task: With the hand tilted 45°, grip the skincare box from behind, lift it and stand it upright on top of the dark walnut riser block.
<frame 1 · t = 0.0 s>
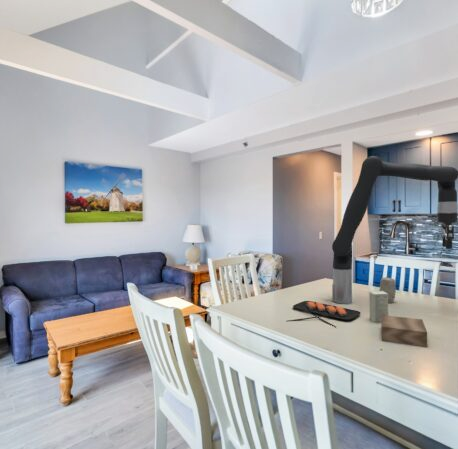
hand: (447, 247, 143), 29 cm above the table, tool pointing down, fingers open, 8 cm apart
carving: (387, 302, 161), on the table
walnut riser: (402, 336, 117), on the table
skincare box: (378, 321, 134), on the table
sushi plate: (317, 317, 141), on the table
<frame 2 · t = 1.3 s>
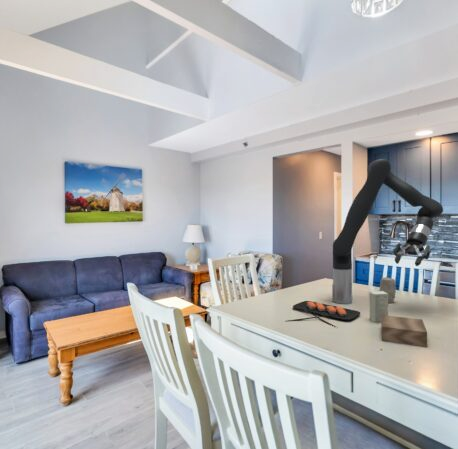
hand: (406, 263, 140), 23 cm above the table, tool tilted 45°, fingers open, 8 cm apart
nothing on the table moved.
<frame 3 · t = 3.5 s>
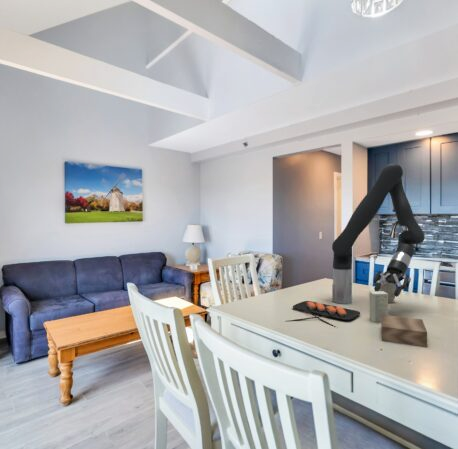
hand: (385, 293, 137), 11 cm above the table, tool tilted 45°, fingers open, 8 cm apart
nothing on the table moved.
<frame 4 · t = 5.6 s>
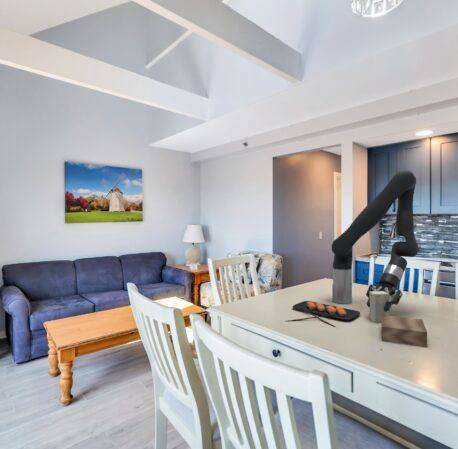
hand: (376, 308, 133), 5 cm above the table, tool tilted 45°, fingers closed on skincare box, 7 cm apart
skincare box: (378, 320, 134), on the table, touching gripper
everything else where it was.
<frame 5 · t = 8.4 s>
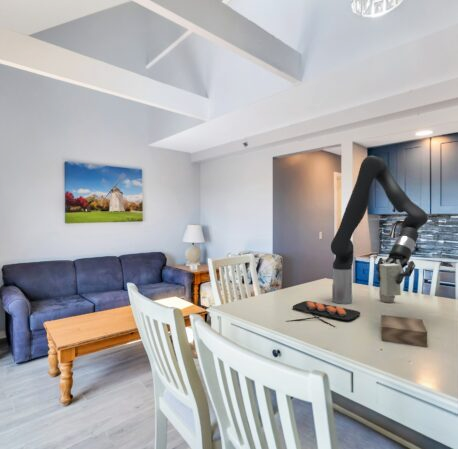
hand: (388, 281, 125), 19 cm above the table, tool tilted 45°, fingers closed on skincare box, 7 cm apart
skincare box: (390, 294, 126), point 13 cm above the table, touching gripper
everything else where it was.
when the fingers open (12 cm above the table, at t = 11.3 s): skincare box drops 1 cm, resting on walnut riser.
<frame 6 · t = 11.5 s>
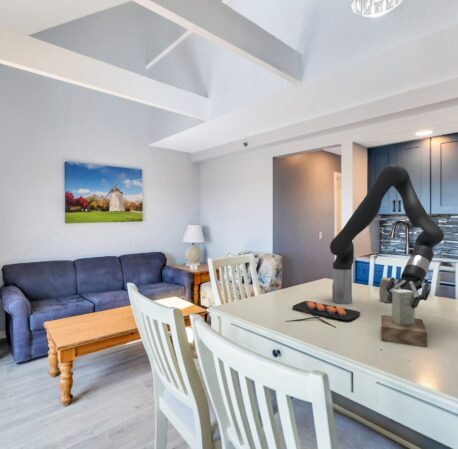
hand: (400, 304, 116), 12 cm above the table, tool tilted 45°, fingers open, 8 cm apart
skincare box: (403, 323, 117), point 5 cm above the table, touching walnut riser
everything else where it was.
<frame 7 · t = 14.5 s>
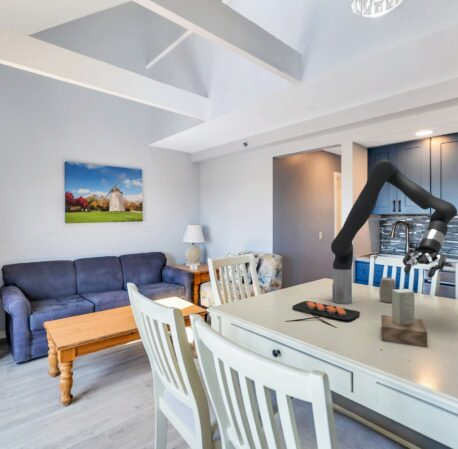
hand: (417, 274, 123), 22 cm above the table, tool tilted 45°, fingers open, 8 cm apart
nothing on the table moved.
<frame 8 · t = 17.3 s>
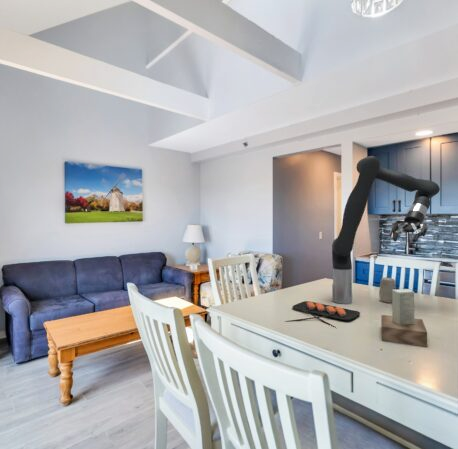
hand: (403, 241, 144), 33 cm above the table, tool tilted 45°, fingers open, 8 cm apart
nothing on the table moved.
at the end: skincare box inside the target area on the walnut riser (0.2 cm from its centre), point 4.8 cm above the walnut riser's base; skincare box tilted 0°; the gripper is holding nothing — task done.
